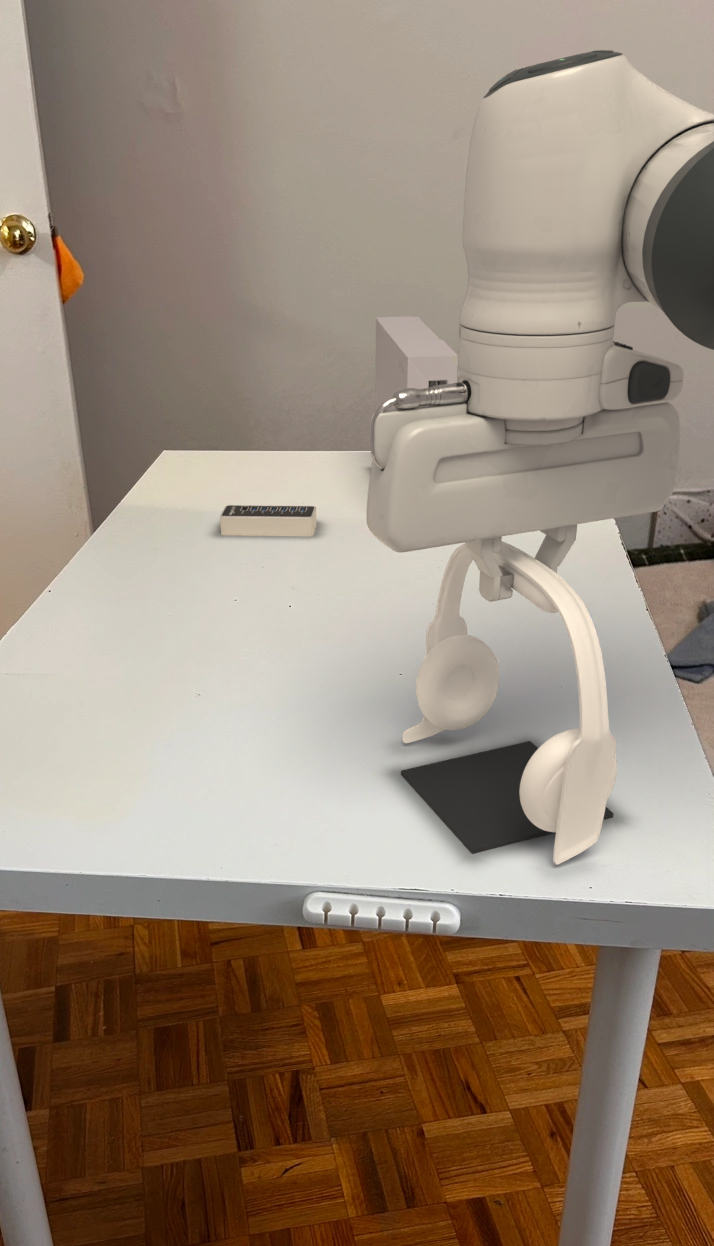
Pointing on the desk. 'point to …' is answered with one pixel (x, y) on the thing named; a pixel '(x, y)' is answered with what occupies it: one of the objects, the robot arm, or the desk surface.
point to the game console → (410, 357)
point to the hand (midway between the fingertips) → (516, 593)
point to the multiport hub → (268, 520)
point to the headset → (468, 684)
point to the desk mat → (480, 796)
